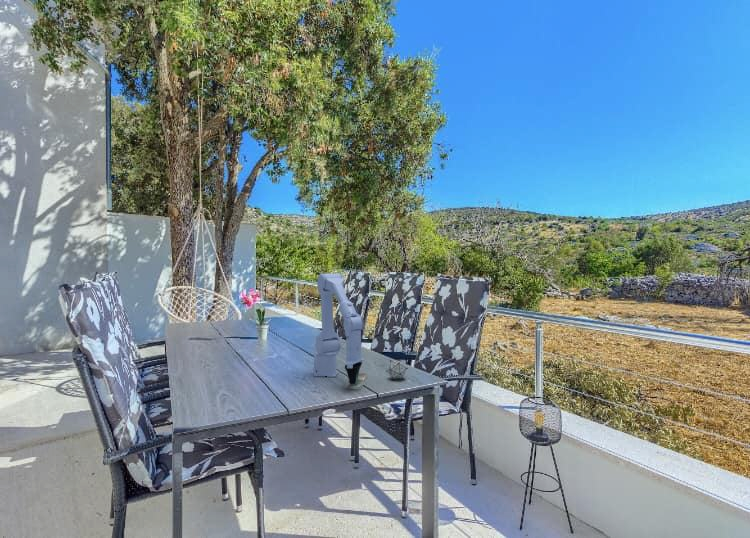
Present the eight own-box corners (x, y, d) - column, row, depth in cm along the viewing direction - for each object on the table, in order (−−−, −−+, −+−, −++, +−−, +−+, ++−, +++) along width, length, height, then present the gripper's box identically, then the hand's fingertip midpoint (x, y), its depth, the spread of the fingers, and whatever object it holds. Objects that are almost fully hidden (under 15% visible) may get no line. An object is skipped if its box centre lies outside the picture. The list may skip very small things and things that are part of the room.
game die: (400, 389, 165) (405, 373, 159) (381, 380, 167) (386, 365, 161) (406, 373, 172) (412, 358, 166) (388, 365, 174) (393, 350, 168)
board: (344, 388, 153) (344, 385, 153) (353, 375, 171) (353, 373, 171) (359, 389, 152) (359, 386, 152) (367, 376, 170) (367, 373, 170)
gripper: (360, 351, 147) (360, 388, 147) (366, 344, 161) (366, 377, 162) (341, 351, 148) (341, 387, 148) (349, 343, 162) (349, 376, 163)
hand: (353, 382), depth 155 cm, fingers closed on pawn, 3 cm apart
